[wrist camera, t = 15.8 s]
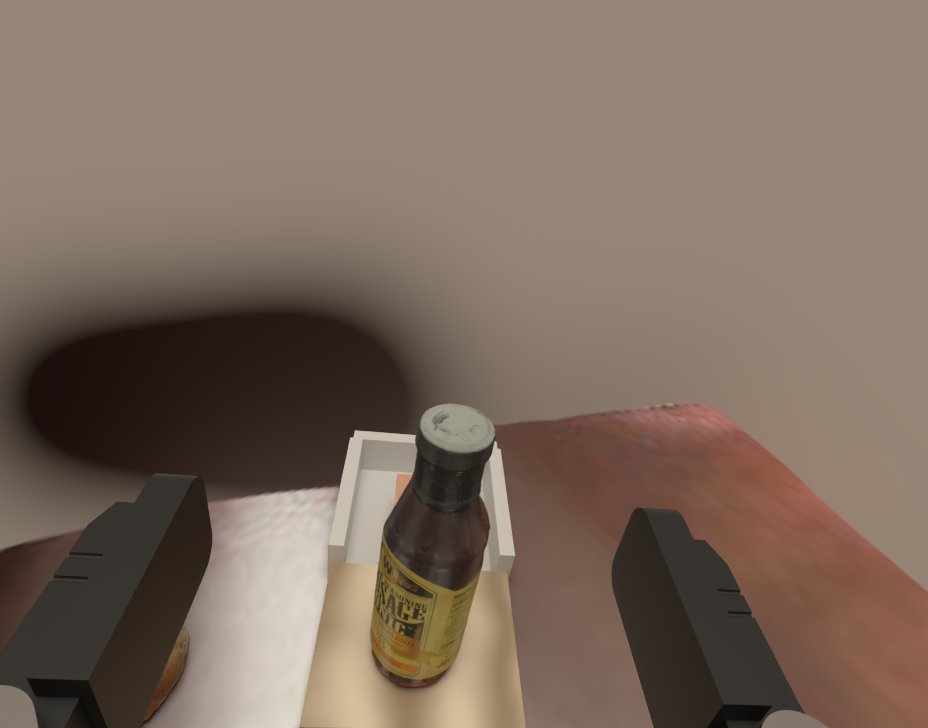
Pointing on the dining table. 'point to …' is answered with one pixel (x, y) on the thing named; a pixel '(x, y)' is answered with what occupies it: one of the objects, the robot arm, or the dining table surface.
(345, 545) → the box
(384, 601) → the sauce bottle
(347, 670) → the board
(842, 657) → the dining table surface
